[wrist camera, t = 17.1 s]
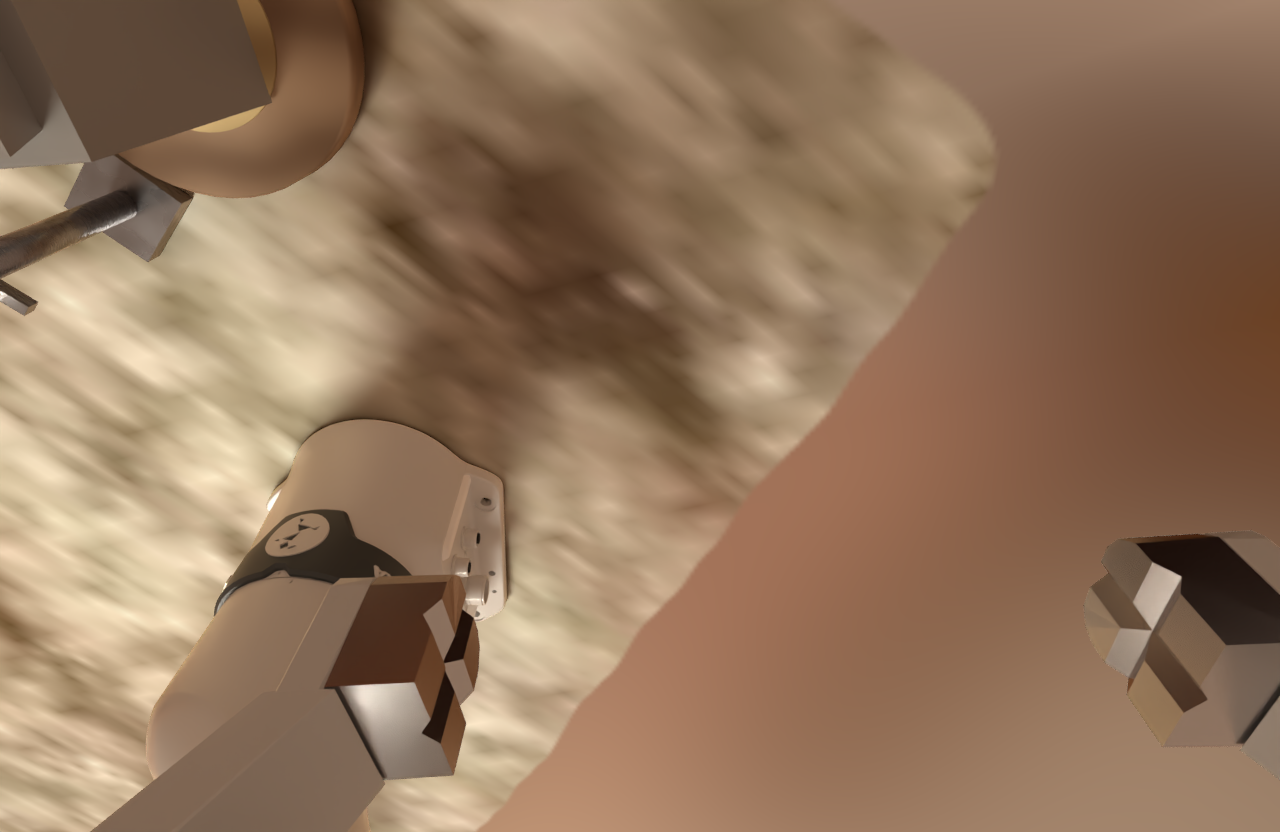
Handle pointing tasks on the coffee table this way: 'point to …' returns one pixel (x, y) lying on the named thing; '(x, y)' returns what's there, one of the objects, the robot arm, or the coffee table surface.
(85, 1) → the perfume bottle
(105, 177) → the dial indicator
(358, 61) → the turntable
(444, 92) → the coffee table surface
